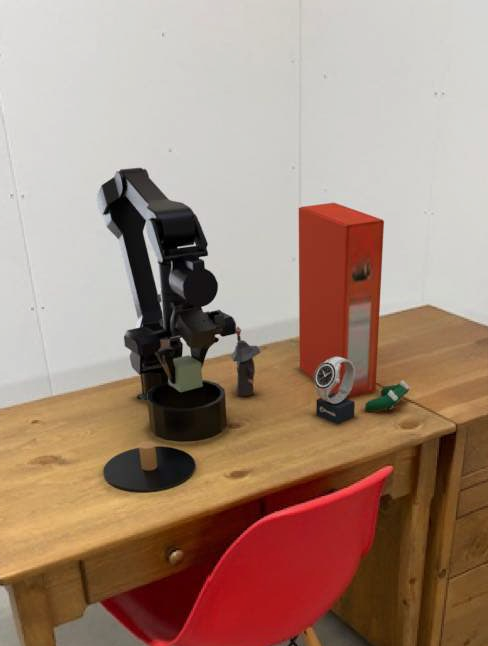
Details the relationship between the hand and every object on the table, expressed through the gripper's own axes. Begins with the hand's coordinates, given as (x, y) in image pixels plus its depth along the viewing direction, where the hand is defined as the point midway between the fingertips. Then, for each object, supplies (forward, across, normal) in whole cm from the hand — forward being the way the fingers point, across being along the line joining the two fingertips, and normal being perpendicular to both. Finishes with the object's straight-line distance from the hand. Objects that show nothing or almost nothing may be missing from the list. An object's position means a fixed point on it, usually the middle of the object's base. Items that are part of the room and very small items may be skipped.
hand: (185, 380), depth 138 cm
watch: (+9, +24, -12) cm, 28 cm away
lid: (+8, -14, -11) cm, 19 cm away
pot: (+9, 0, 0) cm, 9 cm away
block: (+1, 0, 0) cm, 1 cm away
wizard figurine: (+9, +16, +8) cm, 20 cm away
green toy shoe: (+9, +35, -14) cm, 39 cm away
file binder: (+9, +35, +2) cm, 36 cm away
